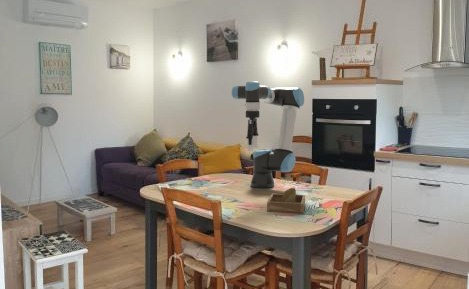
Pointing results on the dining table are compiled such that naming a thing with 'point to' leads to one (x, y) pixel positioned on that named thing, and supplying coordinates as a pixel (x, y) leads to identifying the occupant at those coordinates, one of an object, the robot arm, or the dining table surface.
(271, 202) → the crate
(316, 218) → the dining table surface
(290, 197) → the rock
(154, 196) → the dining table surface
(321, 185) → the dining table surface
